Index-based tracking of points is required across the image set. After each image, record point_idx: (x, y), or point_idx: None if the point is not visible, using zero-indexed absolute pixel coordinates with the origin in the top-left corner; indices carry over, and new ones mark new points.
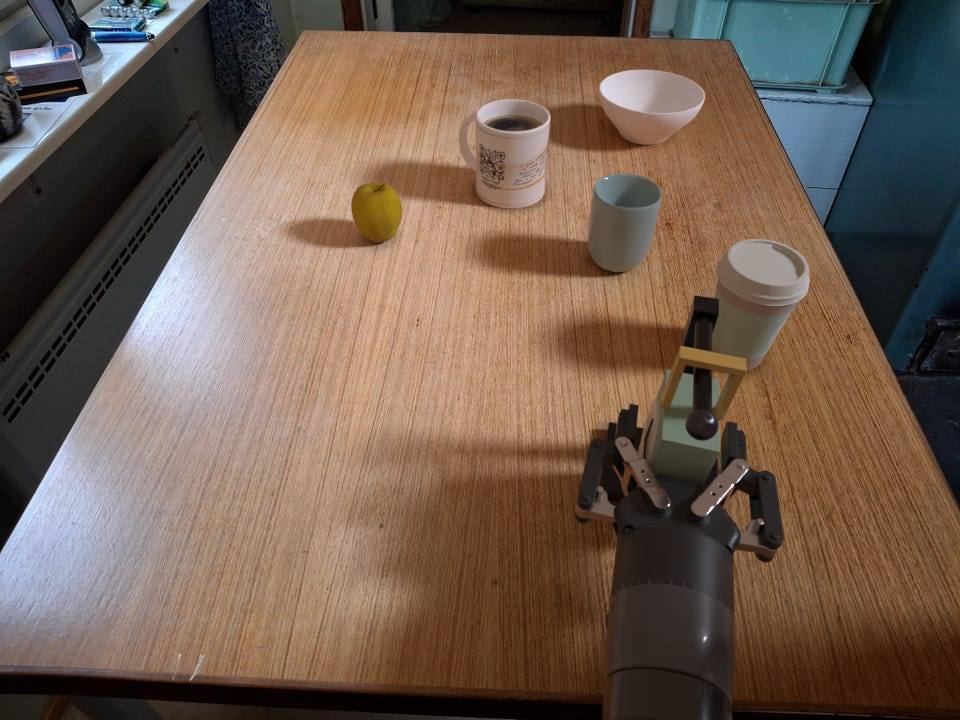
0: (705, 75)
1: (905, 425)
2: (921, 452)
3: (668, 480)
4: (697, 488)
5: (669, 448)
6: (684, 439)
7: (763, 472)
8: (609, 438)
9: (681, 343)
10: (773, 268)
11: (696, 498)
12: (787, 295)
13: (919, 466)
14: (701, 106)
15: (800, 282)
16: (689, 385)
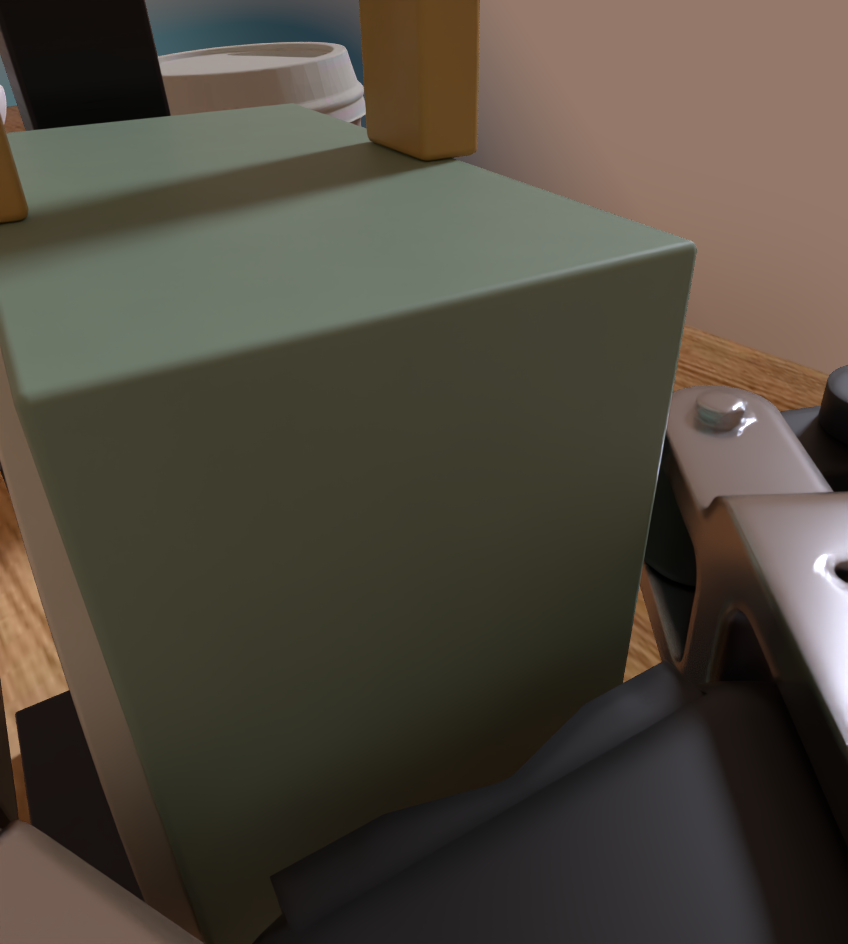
0: (18, 128)
1: (686, 331)
2: (757, 352)
3: (419, 863)
4: (702, 733)
5: (217, 499)
6: (316, 296)
7: (845, 378)
8: (36, 774)
9: (5, 60)
10: (259, 62)
11: (810, 846)
12: (331, 93)
13: (783, 371)
14: (3, 100)
15: (341, 55)
16: (140, 135)
